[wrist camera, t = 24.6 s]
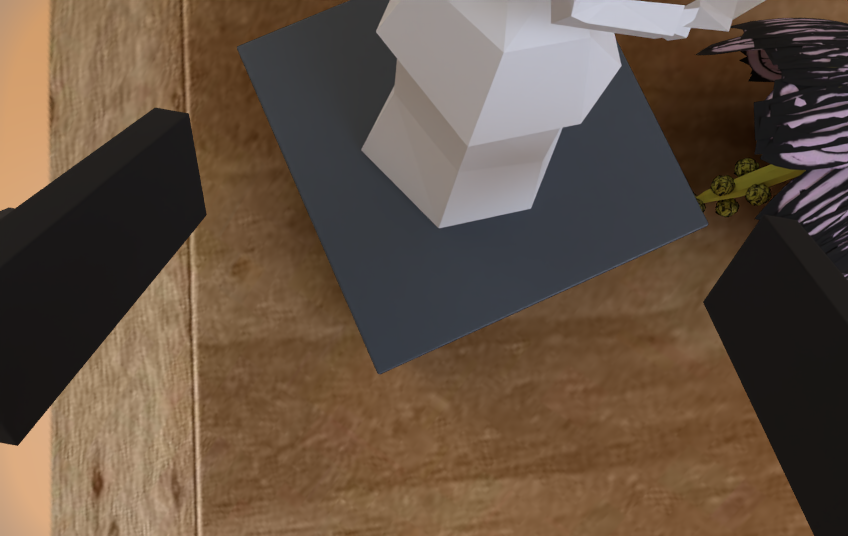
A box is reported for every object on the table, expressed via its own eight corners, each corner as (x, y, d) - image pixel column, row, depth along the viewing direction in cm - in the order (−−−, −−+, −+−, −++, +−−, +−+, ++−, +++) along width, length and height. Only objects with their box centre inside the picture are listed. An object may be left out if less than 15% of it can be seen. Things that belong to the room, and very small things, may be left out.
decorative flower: (1154, 283, 18) (884, 197, 14) (826, 342, 29) (611, 303, 24) (1011, -3, 24) (782, -130, 19) (776, 134, 34) (593, 71, 30)
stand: (292, 130, 28) (235, 45, 20) (512, 37, 29) (555, -85, 20) (390, 355, 27) (378, 375, 18) (616, 253, 28) (710, 224, 19)
